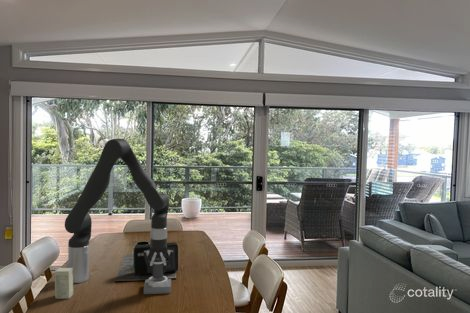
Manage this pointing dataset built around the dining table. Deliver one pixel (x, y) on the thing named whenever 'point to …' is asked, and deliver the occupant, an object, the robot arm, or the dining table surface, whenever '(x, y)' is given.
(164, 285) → the mount block
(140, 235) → the dining table surface
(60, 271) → the skincare box
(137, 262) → the camera
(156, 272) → the lens
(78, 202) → the robot arm
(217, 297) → the dining table surface
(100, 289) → the dining table surface
